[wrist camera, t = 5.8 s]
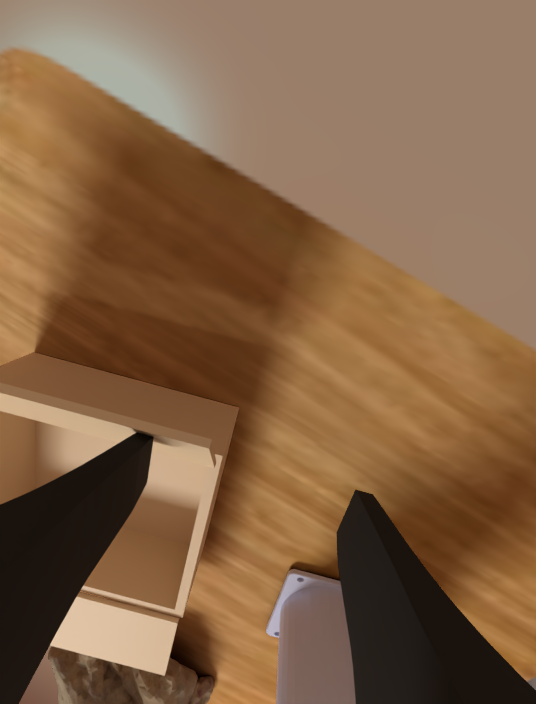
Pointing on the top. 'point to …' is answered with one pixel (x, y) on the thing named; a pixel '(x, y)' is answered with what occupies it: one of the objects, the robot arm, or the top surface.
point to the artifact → (124, 682)
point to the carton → (147, 516)
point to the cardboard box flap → (105, 424)
